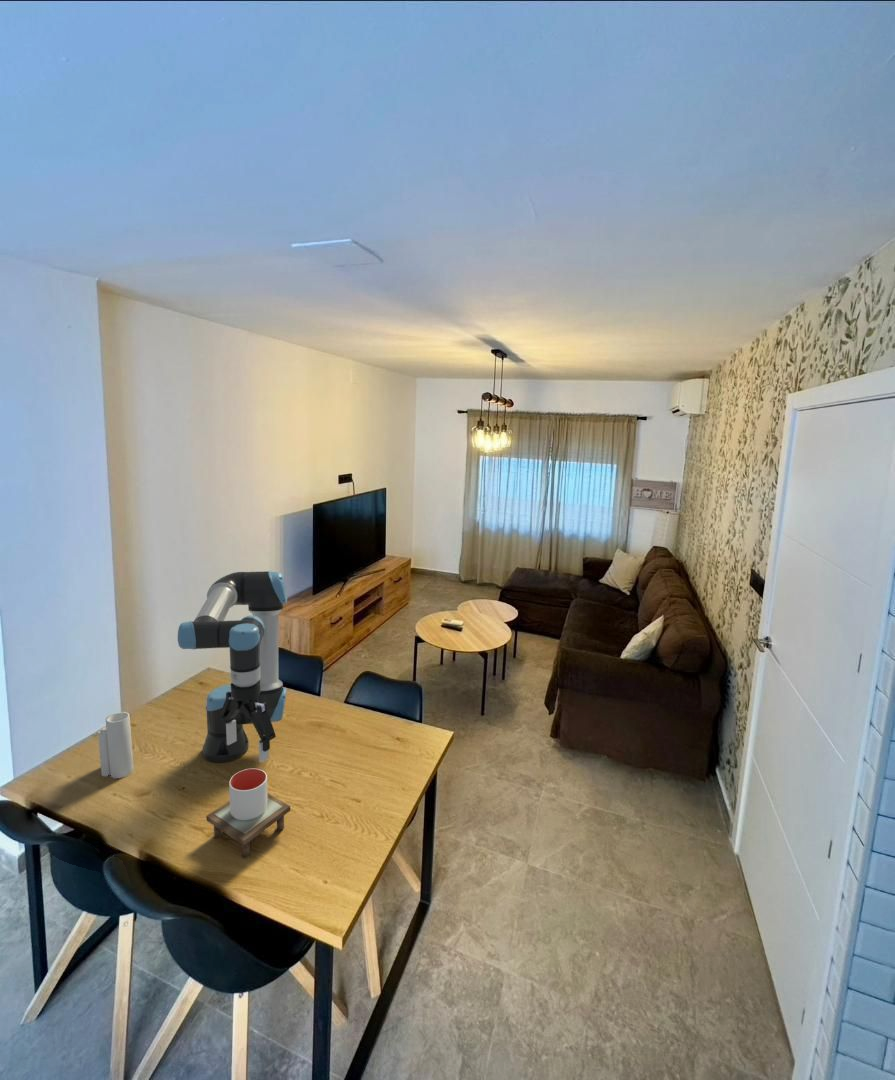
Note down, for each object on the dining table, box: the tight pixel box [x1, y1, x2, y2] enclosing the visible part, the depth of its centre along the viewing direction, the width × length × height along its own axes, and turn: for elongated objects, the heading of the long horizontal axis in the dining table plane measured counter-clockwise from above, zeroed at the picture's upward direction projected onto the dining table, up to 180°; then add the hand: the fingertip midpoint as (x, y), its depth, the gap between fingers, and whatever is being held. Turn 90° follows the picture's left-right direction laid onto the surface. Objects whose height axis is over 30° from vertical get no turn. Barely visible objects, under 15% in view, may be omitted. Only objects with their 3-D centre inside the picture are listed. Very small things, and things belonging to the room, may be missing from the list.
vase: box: [97, 711, 134, 779], centre depth 173 cm, size 11×7×20 cm, turn 72°
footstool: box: [206, 792, 291, 859], centre depth 151 cm, size 16×16×7 cm
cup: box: [228, 767, 268, 820], centre depth 150 cm, size 10×10×10 cm
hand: (247, 751), depth 147 cm, fingers open, 13 cm apart
